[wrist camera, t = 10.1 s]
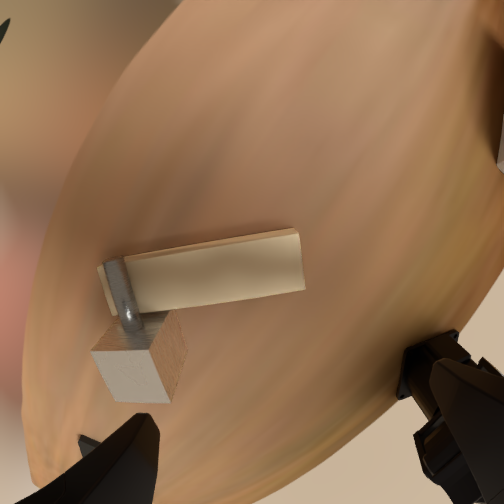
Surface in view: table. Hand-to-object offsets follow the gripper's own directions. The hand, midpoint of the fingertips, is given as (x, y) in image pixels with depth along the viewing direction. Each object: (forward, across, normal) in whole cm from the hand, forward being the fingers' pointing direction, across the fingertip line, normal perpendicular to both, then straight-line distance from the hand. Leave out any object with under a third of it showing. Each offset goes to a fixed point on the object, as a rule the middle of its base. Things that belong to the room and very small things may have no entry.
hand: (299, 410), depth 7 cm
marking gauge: (+12, +9, +1) cm, 15 cm away
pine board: (+12, +4, -1) cm, 13 cm away
